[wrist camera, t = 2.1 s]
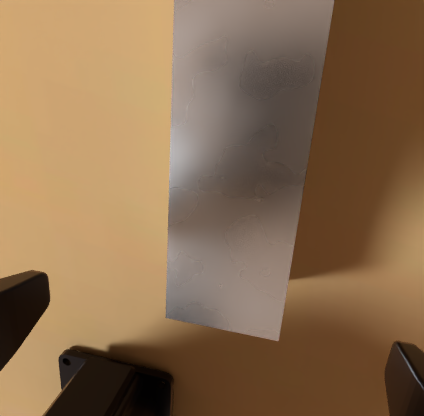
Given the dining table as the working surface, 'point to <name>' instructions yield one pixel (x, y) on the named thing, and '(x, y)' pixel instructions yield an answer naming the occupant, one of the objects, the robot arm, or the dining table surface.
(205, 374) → the dining table surface
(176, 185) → the grey banded block
